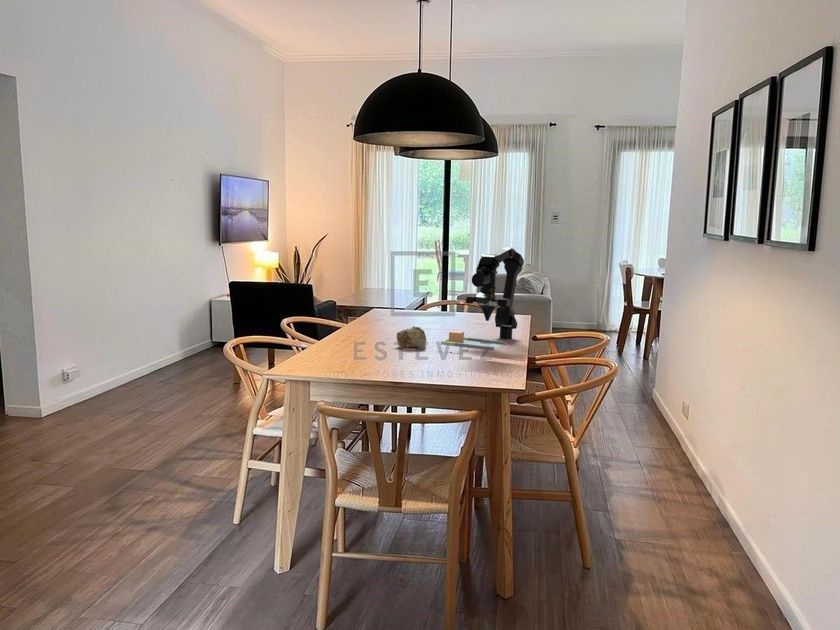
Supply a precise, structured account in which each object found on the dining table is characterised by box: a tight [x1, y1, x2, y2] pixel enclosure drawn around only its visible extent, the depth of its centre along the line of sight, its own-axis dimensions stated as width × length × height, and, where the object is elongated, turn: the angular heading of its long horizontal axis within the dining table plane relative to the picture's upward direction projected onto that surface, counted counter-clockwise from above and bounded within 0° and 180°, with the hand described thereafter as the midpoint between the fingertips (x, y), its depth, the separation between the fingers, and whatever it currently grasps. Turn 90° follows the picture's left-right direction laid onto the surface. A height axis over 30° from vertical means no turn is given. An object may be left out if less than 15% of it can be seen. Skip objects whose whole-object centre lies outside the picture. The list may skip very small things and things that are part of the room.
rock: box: [396, 326, 427, 350], centre depth 268 cm, size 12×7×10 cm, turn 74°
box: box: [440, 336, 506, 351], centre depth 271 cm, size 15×24×3 cm, turn 63°
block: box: [448, 330, 465, 343], centre depth 273 cm, size 5×5×4 cm
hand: (487, 320), depth 270 cm, fingers closed
